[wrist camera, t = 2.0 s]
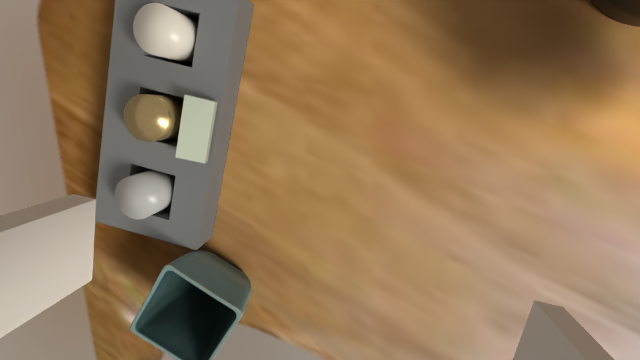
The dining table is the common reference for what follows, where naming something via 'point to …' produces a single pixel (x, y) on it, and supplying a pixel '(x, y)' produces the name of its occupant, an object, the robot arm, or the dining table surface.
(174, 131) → the brass button
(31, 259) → the robot arm
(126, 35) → the console
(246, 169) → the dining table surface
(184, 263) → the flower pot
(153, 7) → the white rounded piece
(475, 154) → the dining table surface
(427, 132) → the dining table surface
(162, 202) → the white rounded dome
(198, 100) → the block
